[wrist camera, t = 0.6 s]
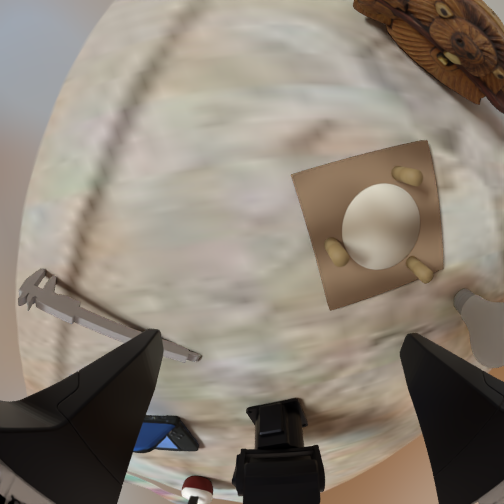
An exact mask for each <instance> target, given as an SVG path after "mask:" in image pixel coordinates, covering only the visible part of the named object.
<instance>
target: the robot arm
mask: <svg viewBox="0 0 504 504" xmlns="http://www.w3.org/2000/svg"><path fill="white" fill-rule="evenodd" d="M163 353H164V347H163V342H162V337H161V332H160V331H159V330H158V329H147V330H145V331H144V332H142V333H140V334H139V335H137V336H135V337H134V338H132V339H130V340H129V341H127V342H126V343H124V344H122V345H121V346H119V347H117V348H116V349H114V350H112V351H111V352H109V353H107V354H106V355H104V356H102V357H101V358H99V359H97V360H96V361H94V362H92V363H91V364H89V365H87V366H86V367H84V368H82V369H81V370H79V372H78V371H77V372H76V373H74V374H72V375H71V376H69V377H67V378H65V379H63V380H62V381H60V382H58V383H56V384H54V385H52V386H50V387H48V388H46V389H44V390H41V391H39V392H37V393H35V394H33V395H30V396H28V397H26V398H24V399H22V400H18V401H12V402H6V401H0V504H117V502H118V499H119V495H120V492H121V489H122V484H123V482H124V478H125V475H126V472H127V469H128V466H129V463H130V460H131V456H132V453H133V450H134V447H135V444H136V441H137V438H138V436H139V433H140V430H141V427H142V424H143V421H144V418H145V415H146V413H147V410H148V407H149V404H150V401H151V399H152V396H153V393H154V390H155V387H156V383H157V378H158V374H159V370H160V366H161V362H162V357H163ZM400 358H401V362H402V366H403V370H404V374H405V378H406V383H407V386H408V390H409V393H410V396H411V399H412V402H413V405H414V408H415V411H416V414H417V417H418V420H419V424H420V427H421V430H422V434H423V437H424V441H425V444H426V448H427V452H428V455H429V459H430V463H431V467H432V471H433V476H434V481H435V486H436V491H437V496H438V501H439V504H475V503H476V502H478V503H479V504H504V382H503V381H501V380H499V379H497V378H495V377H493V376H492V375H490V374H488V373H486V372H485V371H482V370H481V369H479V368H478V367H476V366H474V365H472V364H471V363H469V362H467V361H465V360H464V359H462V358H460V357H458V356H457V355H455V354H453V353H451V352H450V351H448V350H446V349H444V348H443V347H441V346H439V345H437V344H436V343H434V342H432V341H430V340H428V339H427V338H425V337H423V336H421V335H420V334H418V333H410V334H407V335H406V337H405V340H404V342H403V345H402V347H401V350H400ZM246 413H247V414H248V416H249V417H250V419H251V420H252V422H253V423H254V425H255V449H241V454H239V455H237V459H236V467H235V471H234V474H233V478H232V484H233V485H234V486H235V487H236V490H237V492H238V496H243V504H320V492H323V491H324V488H325V473H324V467H323V463H322V459H321V454H320V450H319V446H318V445H313V446H309V447H304V440H303V431H302V427H306V426H307V425H308V422H307V419H306V417H305V415H304V412H303V410H302V407H301V405H300V402H299V400H298V399H296V398H295V399H290V400H285V401H280V402H276V403H271V404H266V405H260V406H255V407H249V408H247V409H246Z"/></svg>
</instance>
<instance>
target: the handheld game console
mask: <svg viewBox="0 0 504 504" xmlns="http://www.w3.org/2000/svg"><path fill="white" fill-rule="evenodd" d="M198 448H199V444H198V443H197V441H196V440H195V439H194V438H193V436H192V435H191V434H190V432H189V431H188V430H187V429H186V427H185V426H184V425H183V423H182V422H181V421H180V418H179V417H177V416H168V415H166V416H152V415H145V418H144V421H143V424H142V427H141V430H140V433H139V436H138V438H137V441H136V444H135V447H134V450H133V452H135V453H147V452H150V451H152V450H154V449H158V450H170V451H197V450H198Z"/></svg>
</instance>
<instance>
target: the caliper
mask: <svg viewBox="0 0 504 504" xmlns="http://www.w3.org/2000/svg"><path fill="white" fill-rule="evenodd" d="M44 277H45V269H40V270H38V271H36V272H35V273H34V274H32V275H31V276H30V277H28V278H27V279H26V280H25V282H24V283H23V284H22V286H21V287H20V289H19V298H18V305H19V306H22V305H24V304H25V303H27V310H28V311H29V310H30V308H31V306H32V304H34V303H36V307H37V308H39V309H41V310H43V311H45V312H47V313H49V314H51V315H53V316H55V317H57V318H59V319H61V320H64V321H66V322H68V323H70V324H73V323H74V322H75V323H77V324H80V325H82V326H84V327H86V328H89V329H91V330H93V331H96V332H98V333H100V334H103V335H105V336H108V337H110V338H113V339H115V340H118V341H121V342H123V343H126V342H127V341H129V340H130V339H132V338H134V337H135V336H137V335H139V334H140V333H142V332H140V331H138V330H135V329H132V328H129V327H127V326H124V325H122V324H119V323H117V322H114V321H112V320H109V319H107V318H104V317H102V316H100V315H97V314H95V313H93V312H90V311H88V310H86V309H83V308H81V307H80V303H81V302H80V301H78V300H74V299H72V298H70V297H69V296H66V295H62V294H59V295H58V294H57V293H55V292H54V290H55V285H56V276H54V275H53V276H52V277H51V278H50V279H49V280H48V282H47V283H46V285H45V286H44V288H43V289H41V288H39V287H38V285H39V284H40V282H41V281H42V279H43V278H44ZM162 342H163V347H164V353H163V356H164V357H167V358H170V359H174V360H177V361H180V362H184V363H185V362H186V360H189V361H193V362H195V361H198V359H199V358H200V356H201V355H200V354H198V353H194V352H191V351H189V349H187V348H184V347H182V346H180V345H178V344H176V343H173V342H170V341H167V340H164V339H162Z"/></svg>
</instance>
